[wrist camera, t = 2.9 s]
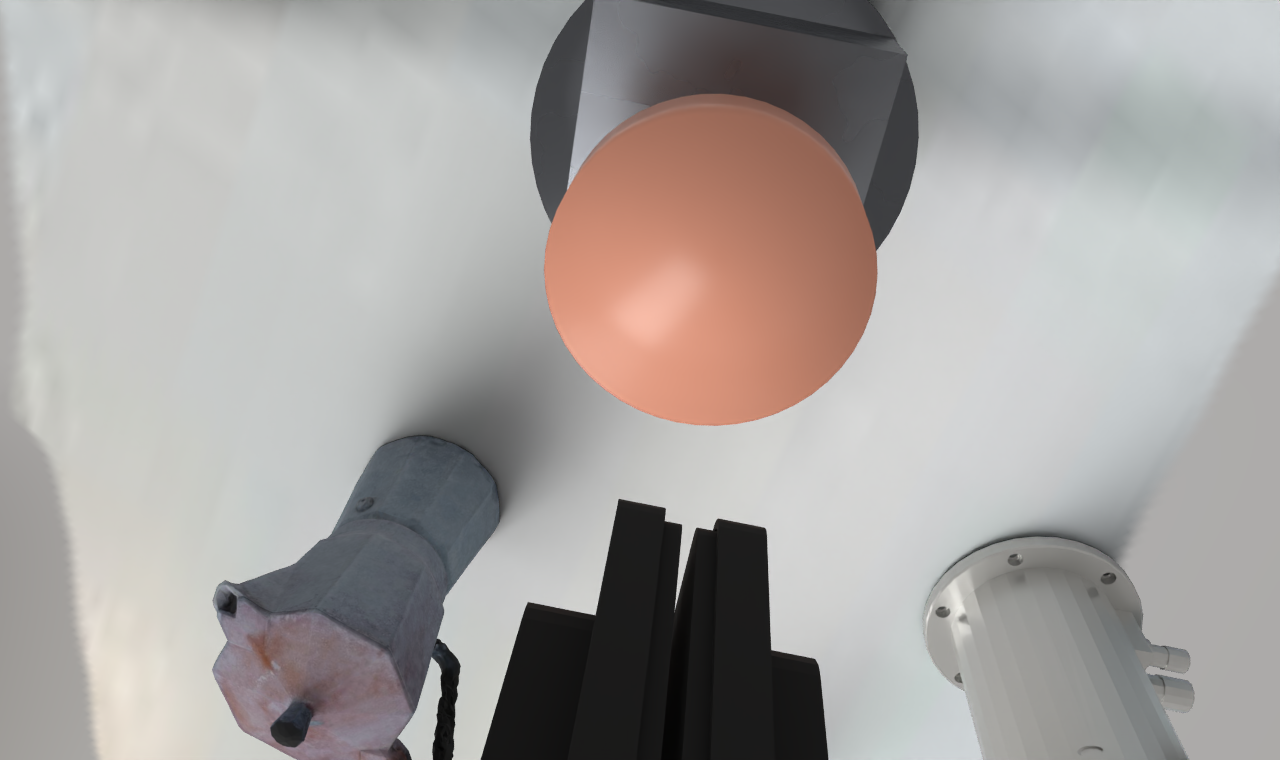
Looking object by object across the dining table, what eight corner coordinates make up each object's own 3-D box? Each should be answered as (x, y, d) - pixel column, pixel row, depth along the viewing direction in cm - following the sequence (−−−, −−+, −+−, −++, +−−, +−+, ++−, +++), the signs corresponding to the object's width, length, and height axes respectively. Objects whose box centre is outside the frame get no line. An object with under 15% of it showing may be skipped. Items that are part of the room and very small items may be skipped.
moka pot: (401, 367, 56) (241, 595, 38) (577, 544, 60) (506, 820, 43) (295, 450, 59) (104, 695, 42) (469, 612, 64) (363, 893, 46)
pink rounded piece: (884, 94, 24) (921, 152, 19) (812, 345, 27) (826, 452, 22) (605, 38, 24) (567, 82, 19) (567, 295, 27) (526, 392, 22)
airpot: (929, -156, 41) (1078, -179, 23) (815, 256, 50) (855, 480, 32) (630, -215, 41) (536, -286, 23) (569, 208, 50) (466, 402, 32)
